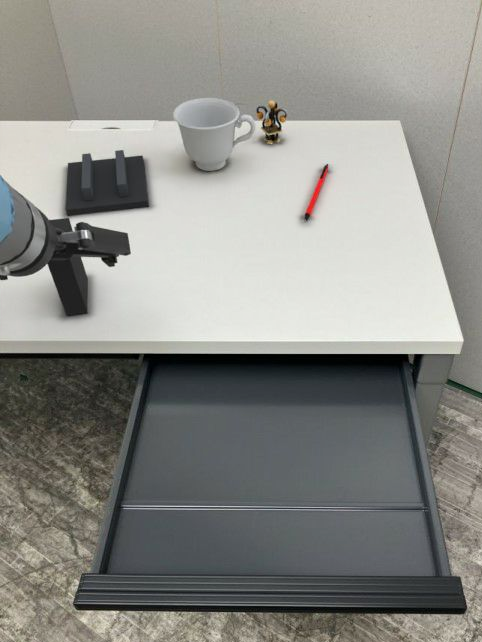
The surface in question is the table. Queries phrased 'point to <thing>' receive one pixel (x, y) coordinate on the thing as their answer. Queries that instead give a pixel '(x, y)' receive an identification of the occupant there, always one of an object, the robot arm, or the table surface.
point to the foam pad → (70, 278)
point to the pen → (316, 192)
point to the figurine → (271, 121)
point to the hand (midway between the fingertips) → (57, 263)
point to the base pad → (106, 184)
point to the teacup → (210, 130)
